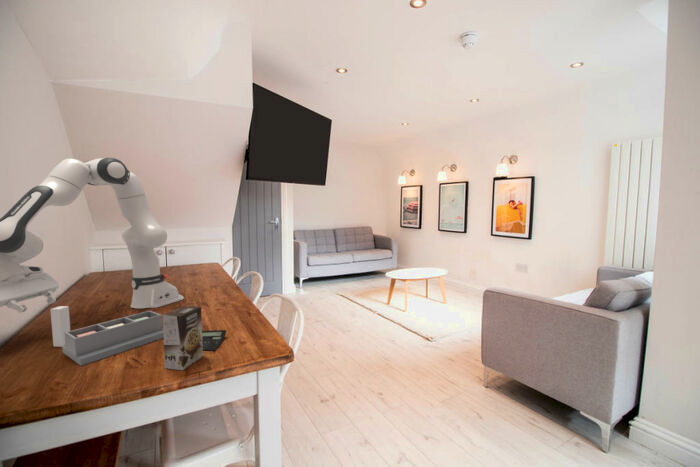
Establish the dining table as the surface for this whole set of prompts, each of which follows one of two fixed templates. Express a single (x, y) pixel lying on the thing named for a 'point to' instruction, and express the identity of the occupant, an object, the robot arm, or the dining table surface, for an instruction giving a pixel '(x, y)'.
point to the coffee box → (182, 337)
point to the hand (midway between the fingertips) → (39, 306)
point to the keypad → (112, 337)
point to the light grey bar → (60, 324)
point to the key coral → (85, 334)
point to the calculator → (212, 339)
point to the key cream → (115, 326)
